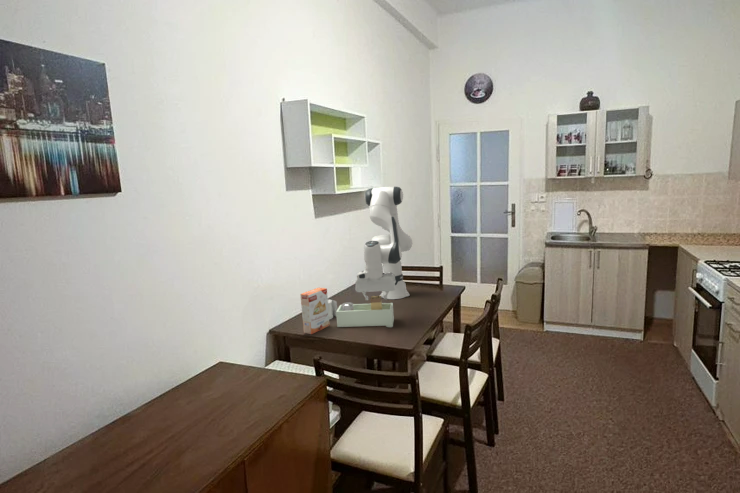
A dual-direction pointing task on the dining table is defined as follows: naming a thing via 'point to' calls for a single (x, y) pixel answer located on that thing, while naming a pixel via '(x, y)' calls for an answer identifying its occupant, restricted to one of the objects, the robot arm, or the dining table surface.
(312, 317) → the cracker box
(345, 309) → the tin can
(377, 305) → the oat carton
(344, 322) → the tote
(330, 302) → the toilet tissue
